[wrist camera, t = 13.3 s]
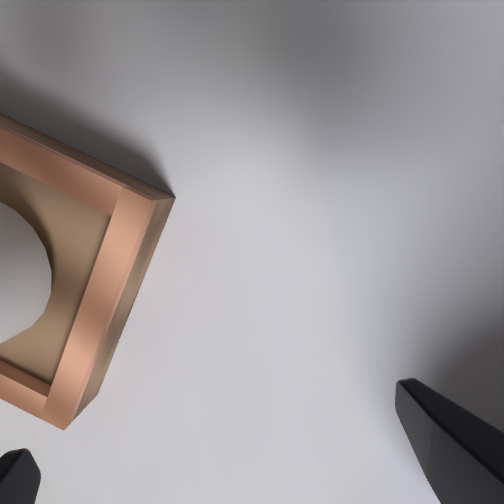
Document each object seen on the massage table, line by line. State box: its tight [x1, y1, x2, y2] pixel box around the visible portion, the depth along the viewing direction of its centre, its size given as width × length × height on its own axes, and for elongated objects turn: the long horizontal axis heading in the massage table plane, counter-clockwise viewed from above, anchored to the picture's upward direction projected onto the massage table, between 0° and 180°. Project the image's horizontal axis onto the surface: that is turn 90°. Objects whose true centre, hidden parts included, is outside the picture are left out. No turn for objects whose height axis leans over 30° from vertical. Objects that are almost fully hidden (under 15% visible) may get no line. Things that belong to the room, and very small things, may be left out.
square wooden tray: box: [0, 113, 176, 430], centre depth 19 cm, size 14×14×3 cm
